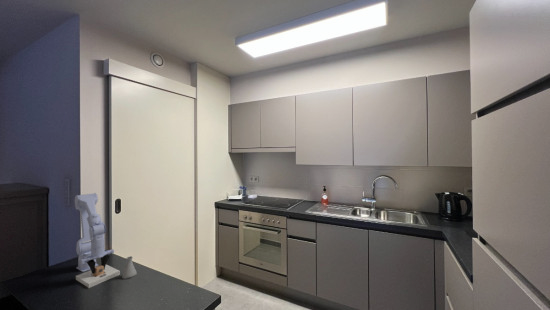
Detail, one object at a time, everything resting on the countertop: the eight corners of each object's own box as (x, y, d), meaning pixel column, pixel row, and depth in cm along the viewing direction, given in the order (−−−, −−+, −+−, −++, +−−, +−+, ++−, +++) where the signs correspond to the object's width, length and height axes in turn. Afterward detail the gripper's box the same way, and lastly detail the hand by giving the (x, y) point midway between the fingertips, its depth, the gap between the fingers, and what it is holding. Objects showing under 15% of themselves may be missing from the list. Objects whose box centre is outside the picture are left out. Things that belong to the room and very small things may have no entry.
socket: (75, 279, 116) (75, 275, 116) (106, 267, 129) (106, 263, 129) (88, 288, 109) (88, 283, 109) (119, 274, 121) (119, 270, 121)
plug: (94, 277, 118) (93, 267, 118) (100, 275, 121) (100, 264, 121) (98, 280, 115) (97, 269, 115) (104, 277, 118) (104, 266, 118)
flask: (124, 280, 115) (124, 262, 115) (119, 276, 119) (119, 258, 119) (139, 274, 120) (139, 256, 120) (134, 270, 125) (133, 253, 125)
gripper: (84, 253, 110) (84, 279, 110) (116, 243, 123) (116, 266, 123) (78, 250, 114) (79, 276, 114) (110, 240, 127) (110, 264, 126)
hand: (98, 271), depth 119 cm, fingers open, 4 cm apart
